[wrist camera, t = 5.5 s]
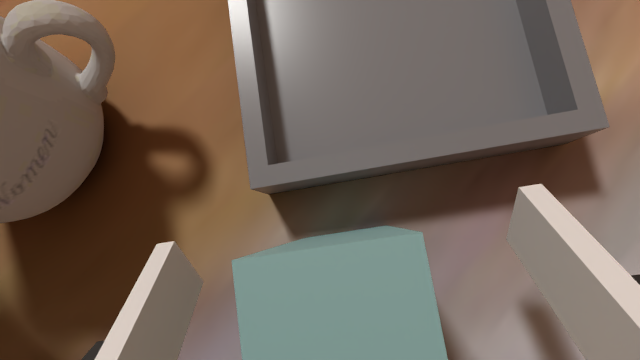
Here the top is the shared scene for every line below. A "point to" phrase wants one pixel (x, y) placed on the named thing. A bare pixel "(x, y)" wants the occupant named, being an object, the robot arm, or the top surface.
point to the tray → (404, 85)
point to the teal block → (340, 299)
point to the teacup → (48, 106)
